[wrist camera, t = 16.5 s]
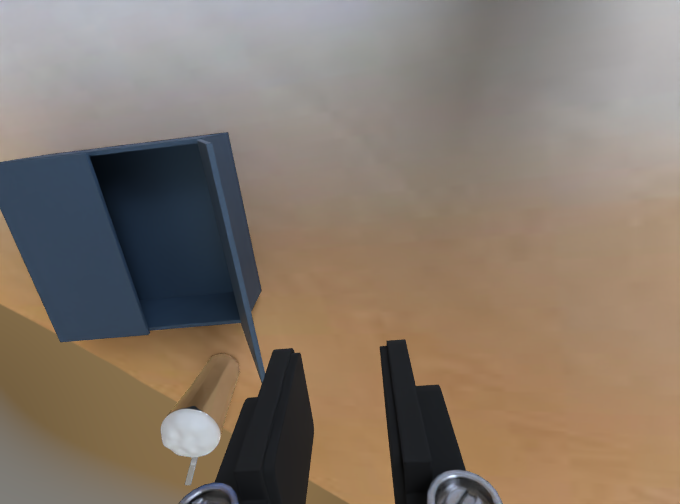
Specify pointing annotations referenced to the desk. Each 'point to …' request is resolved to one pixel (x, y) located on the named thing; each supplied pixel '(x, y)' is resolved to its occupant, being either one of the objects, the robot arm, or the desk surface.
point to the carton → (128, 237)
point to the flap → (230, 249)
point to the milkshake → (201, 411)
